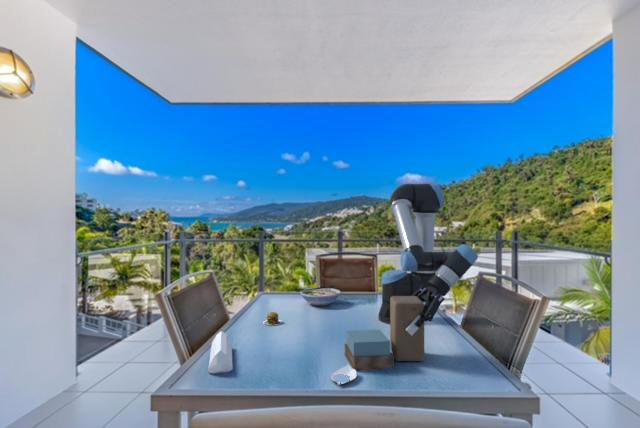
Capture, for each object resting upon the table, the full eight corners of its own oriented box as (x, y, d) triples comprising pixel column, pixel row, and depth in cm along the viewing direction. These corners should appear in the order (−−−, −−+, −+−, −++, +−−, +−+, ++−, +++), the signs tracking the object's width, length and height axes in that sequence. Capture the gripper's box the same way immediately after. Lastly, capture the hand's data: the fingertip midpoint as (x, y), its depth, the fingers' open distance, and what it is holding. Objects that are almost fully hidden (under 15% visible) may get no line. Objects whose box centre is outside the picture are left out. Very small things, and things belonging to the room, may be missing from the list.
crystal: (238, 361, 110) (236, 336, 133) (218, 351, 109) (219, 328, 132) (226, 383, 109) (226, 354, 132) (205, 373, 108) (209, 346, 131)
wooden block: (425, 362, 118) (424, 302, 117) (394, 362, 118) (394, 302, 118) (417, 350, 128) (417, 295, 127) (390, 349, 128) (389, 295, 128)
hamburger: (270, 330, 154) (270, 317, 154) (254, 324, 163) (254, 312, 163) (291, 324, 163) (291, 312, 163) (275, 319, 171) (275, 307, 171)
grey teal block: (379, 342, 126) (379, 329, 126) (390, 355, 114) (390, 341, 114) (346, 343, 125) (346, 330, 125) (353, 356, 113) (353, 342, 113)
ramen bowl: (309, 312, 182) (309, 296, 182) (291, 302, 202) (291, 288, 202) (350, 306, 193) (350, 291, 193) (329, 298, 214) (329, 284, 214)
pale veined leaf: (360, 371, 110) (360, 363, 110) (351, 392, 99) (351, 383, 99) (336, 370, 113) (335, 362, 113) (325, 389, 102) (324, 381, 102)
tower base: (379, 354, 127) (379, 341, 127) (393, 369, 114) (393, 355, 114) (344, 356, 124) (344, 343, 124) (354, 372, 112) (354, 358, 112)
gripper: (468, 295, 114) (424, 346, 111) (433, 282, 137) (395, 323, 135) (453, 280, 113) (408, 330, 110) (420, 268, 136) (382, 310, 134)
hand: (401, 327), depth 122 cm, fingers closed on wooden block, 11 cm apart
